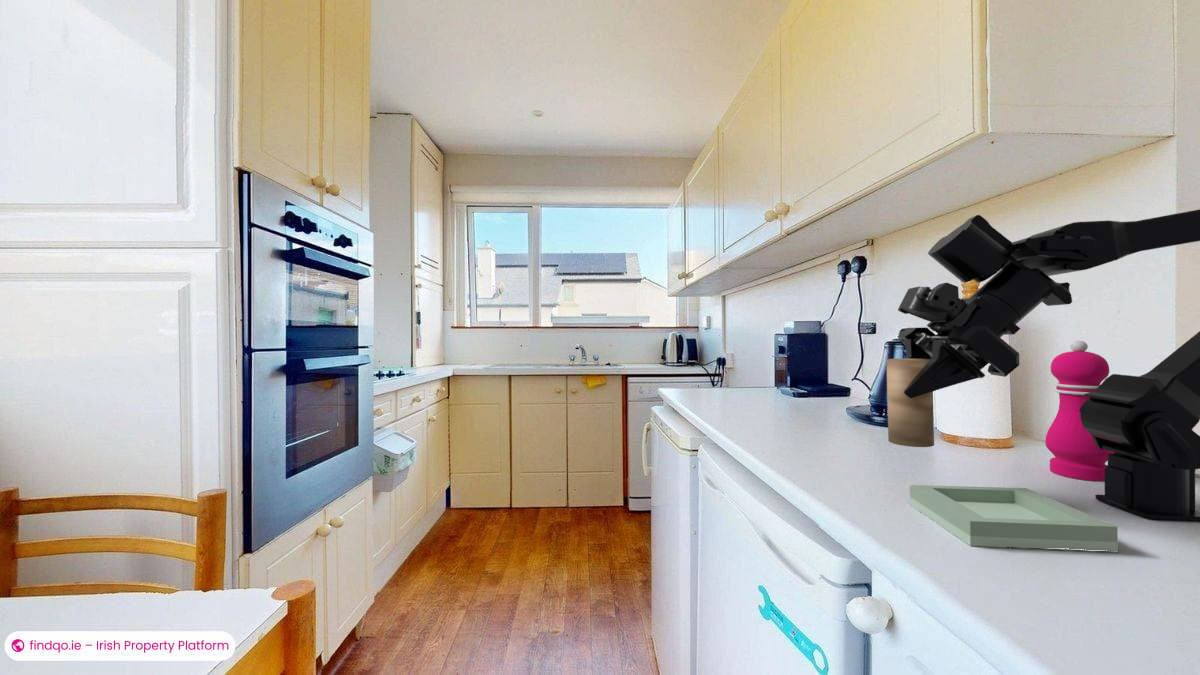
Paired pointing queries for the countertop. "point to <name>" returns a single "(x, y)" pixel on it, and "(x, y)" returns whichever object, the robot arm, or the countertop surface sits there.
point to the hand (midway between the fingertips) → (898, 392)
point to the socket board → (1011, 518)
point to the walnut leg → (908, 405)
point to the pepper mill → (1076, 415)
